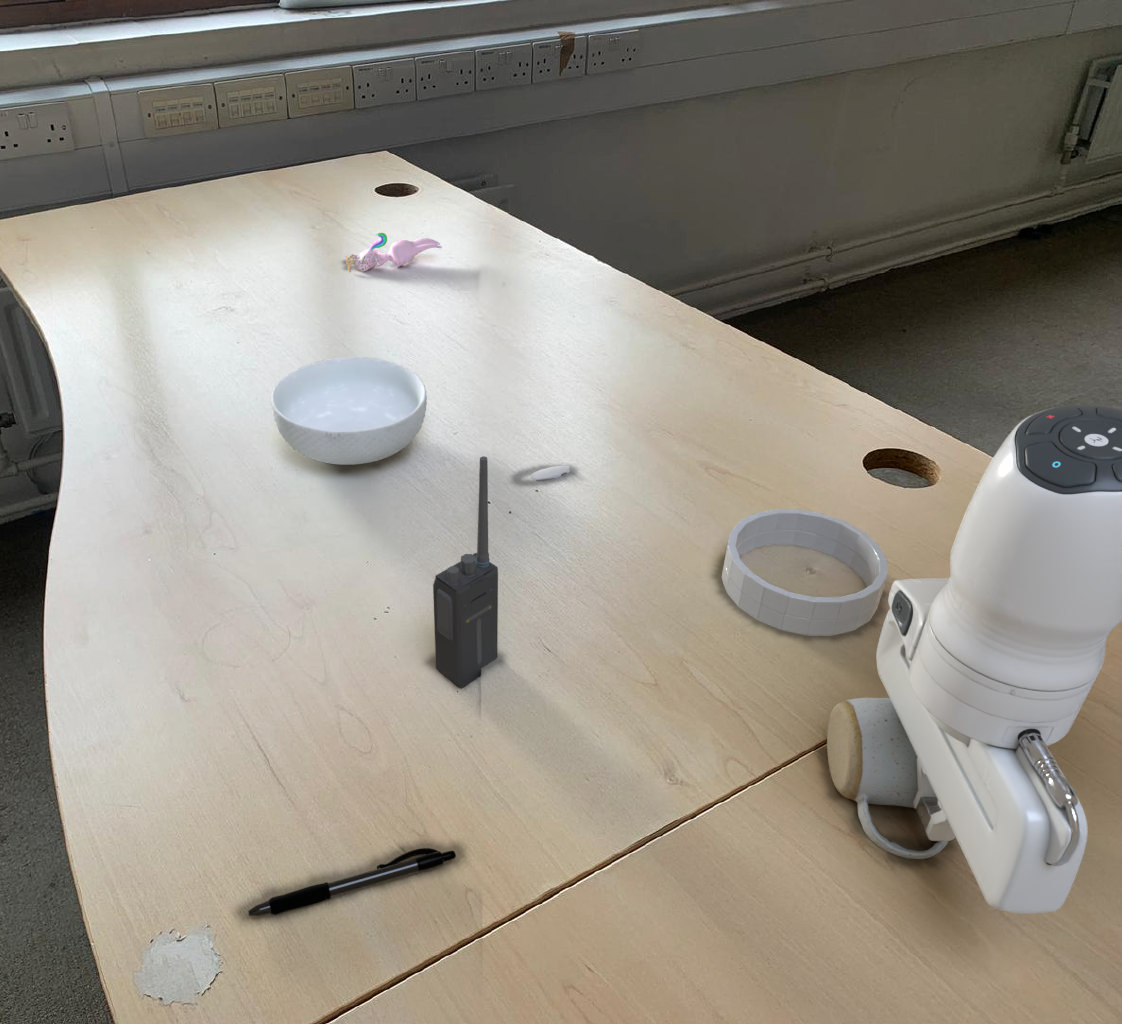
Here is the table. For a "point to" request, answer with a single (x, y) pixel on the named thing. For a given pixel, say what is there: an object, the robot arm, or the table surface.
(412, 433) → the cereal bowl
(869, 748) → the ceramic mug
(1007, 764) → the robot arm
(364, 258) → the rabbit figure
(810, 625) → the gray band ring
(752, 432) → the table surface
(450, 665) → the walkie-talkie
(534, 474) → the white elongated flat piece
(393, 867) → the pen
